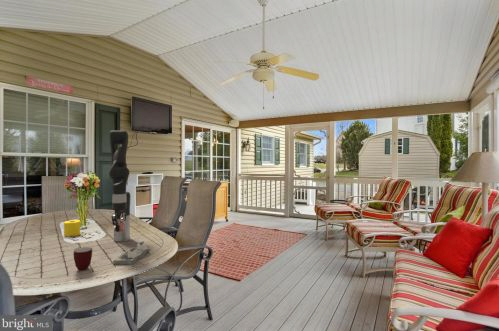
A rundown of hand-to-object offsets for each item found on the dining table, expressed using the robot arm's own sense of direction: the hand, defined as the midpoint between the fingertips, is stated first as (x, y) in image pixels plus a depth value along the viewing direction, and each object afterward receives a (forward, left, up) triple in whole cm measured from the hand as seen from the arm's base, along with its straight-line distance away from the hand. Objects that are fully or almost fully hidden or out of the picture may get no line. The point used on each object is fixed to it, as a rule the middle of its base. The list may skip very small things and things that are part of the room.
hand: (119, 230), depth 162 cm
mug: (-8, -22, -14) cm, 28 cm away
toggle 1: (+13, -10, -12) cm, 20 cm away
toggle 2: (+12, +2, -12) cm, 17 cm away
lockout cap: (0, 0, 0) cm, 0 cm away
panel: (+9, -4, -14) cm, 17 cm away
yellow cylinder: (-55, +39, -14) cm, 69 cm away
